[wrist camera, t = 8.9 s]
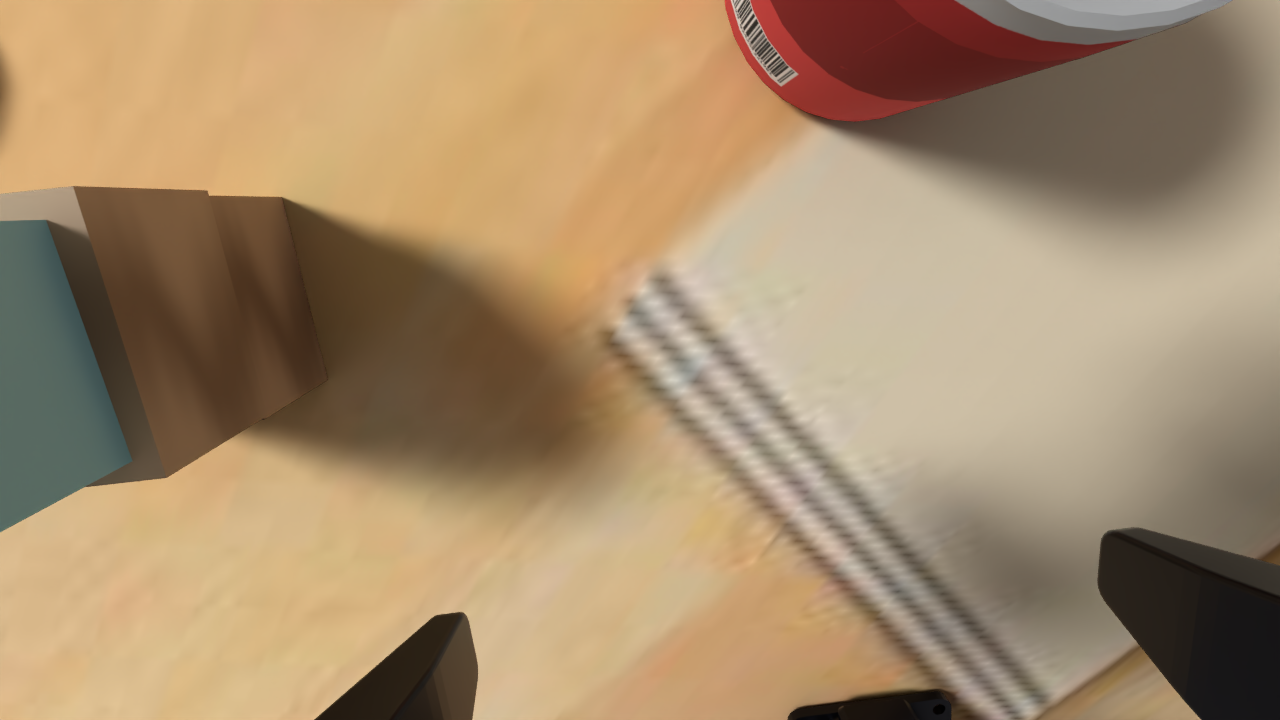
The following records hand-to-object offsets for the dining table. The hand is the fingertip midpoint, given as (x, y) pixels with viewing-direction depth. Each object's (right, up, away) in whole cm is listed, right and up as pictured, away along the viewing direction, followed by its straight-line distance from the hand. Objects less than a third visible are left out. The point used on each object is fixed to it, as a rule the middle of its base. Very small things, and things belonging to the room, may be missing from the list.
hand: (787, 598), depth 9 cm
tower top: (-16, +4, +8) cm, 18 cm away
